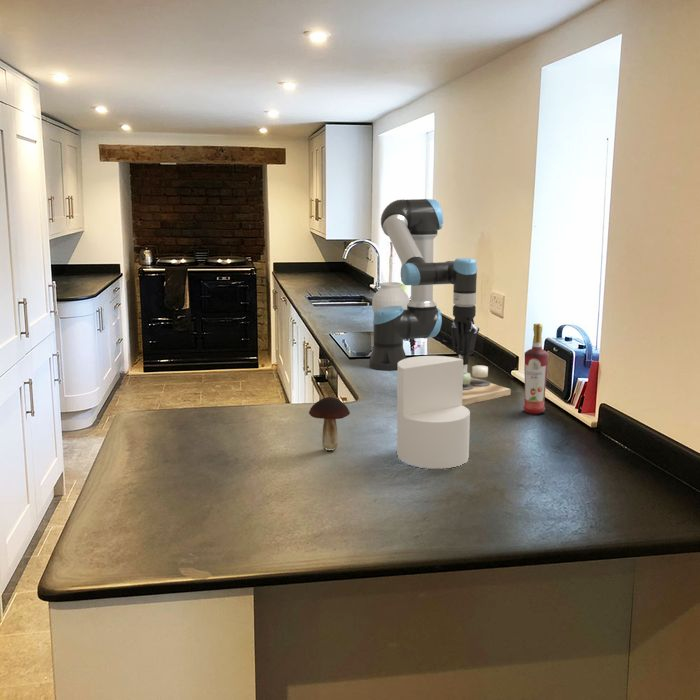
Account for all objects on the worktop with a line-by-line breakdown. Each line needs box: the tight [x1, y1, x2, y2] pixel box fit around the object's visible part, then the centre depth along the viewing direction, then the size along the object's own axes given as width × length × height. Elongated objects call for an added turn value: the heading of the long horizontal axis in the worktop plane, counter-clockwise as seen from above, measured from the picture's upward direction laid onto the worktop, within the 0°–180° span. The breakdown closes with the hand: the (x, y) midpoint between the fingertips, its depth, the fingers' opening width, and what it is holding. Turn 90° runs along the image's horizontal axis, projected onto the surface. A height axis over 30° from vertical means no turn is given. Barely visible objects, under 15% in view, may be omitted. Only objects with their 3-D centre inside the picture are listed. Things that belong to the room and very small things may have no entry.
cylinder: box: [396, 355, 471, 469], centre depth 186 cm, size 19×19×25 cm
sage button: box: [463, 371, 472, 384], centre depth 246 cm, size 5×5×3 cm
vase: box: [371, 281, 410, 314], centre depth 343 cm, size 18×18×25 cm
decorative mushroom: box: [308, 396, 351, 449], centre depth 192 cm, size 11×11×15 cm
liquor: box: [522, 323, 550, 415], centre depth 222 cm, size 7×7×28 cm
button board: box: [462, 376, 512, 406], centre depth 247 cm, size 22×24×3 cm
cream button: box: [471, 364, 489, 379], centre depth 250 cm, size 5×5×3 cm
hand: (462, 373), depth 245 cm, fingers closed
